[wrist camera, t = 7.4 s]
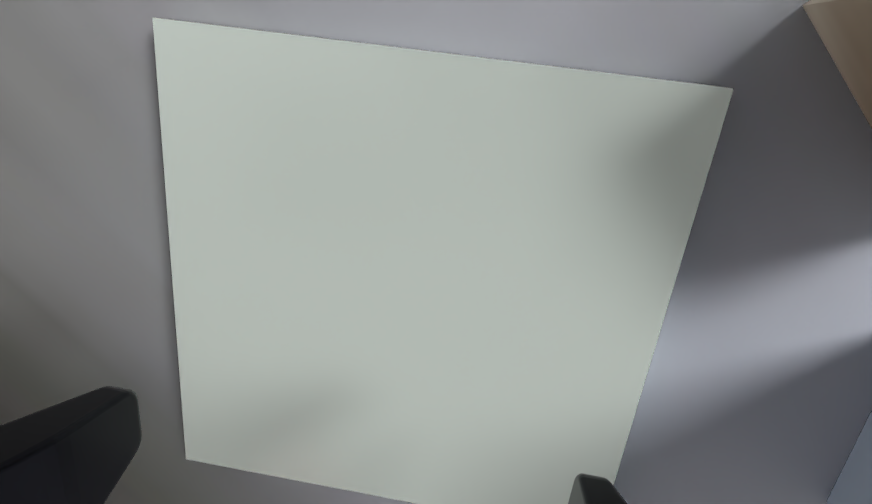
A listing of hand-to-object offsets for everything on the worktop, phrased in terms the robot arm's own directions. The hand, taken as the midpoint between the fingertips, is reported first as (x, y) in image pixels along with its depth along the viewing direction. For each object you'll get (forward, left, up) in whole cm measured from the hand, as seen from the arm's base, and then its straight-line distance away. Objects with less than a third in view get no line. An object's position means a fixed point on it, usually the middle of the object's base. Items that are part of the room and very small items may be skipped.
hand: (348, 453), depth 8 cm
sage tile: (0, 0, -5) cm, 5 cm away
